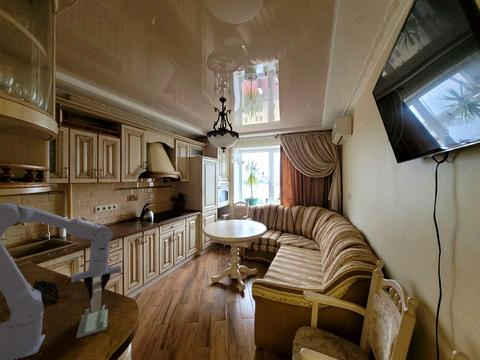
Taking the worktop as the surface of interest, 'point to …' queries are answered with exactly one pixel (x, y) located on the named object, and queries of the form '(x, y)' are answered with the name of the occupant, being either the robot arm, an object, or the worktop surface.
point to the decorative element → (48, 289)
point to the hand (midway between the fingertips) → (95, 296)
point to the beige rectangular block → (96, 295)
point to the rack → (93, 322)
